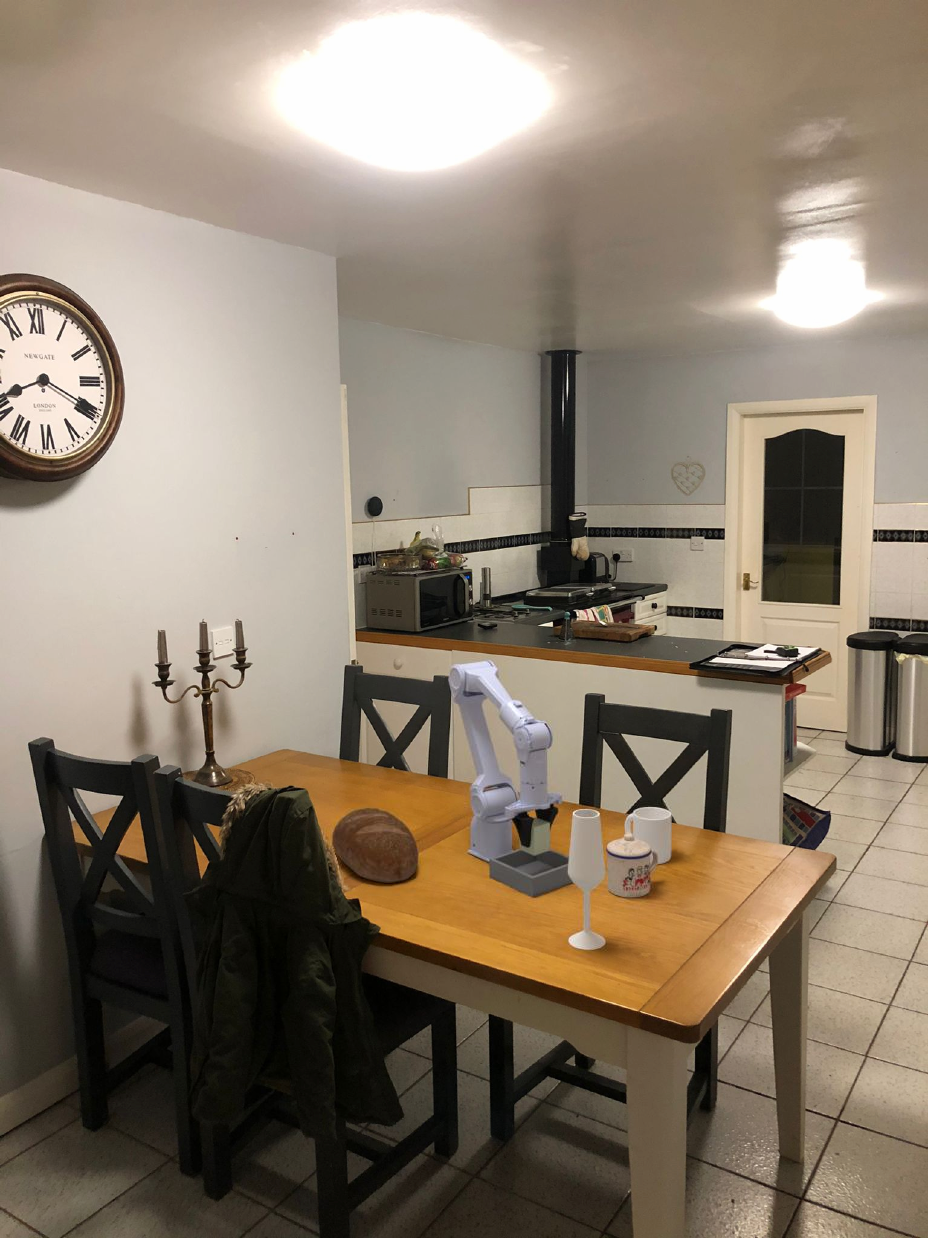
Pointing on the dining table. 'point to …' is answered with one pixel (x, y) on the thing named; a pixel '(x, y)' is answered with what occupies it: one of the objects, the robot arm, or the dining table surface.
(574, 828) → the champagne flute
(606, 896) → the dining table surface
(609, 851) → the teacup with lid
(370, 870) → the bread
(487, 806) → the robot arm
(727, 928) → the dining table surface
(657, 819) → the mug
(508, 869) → the bin
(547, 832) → the block
